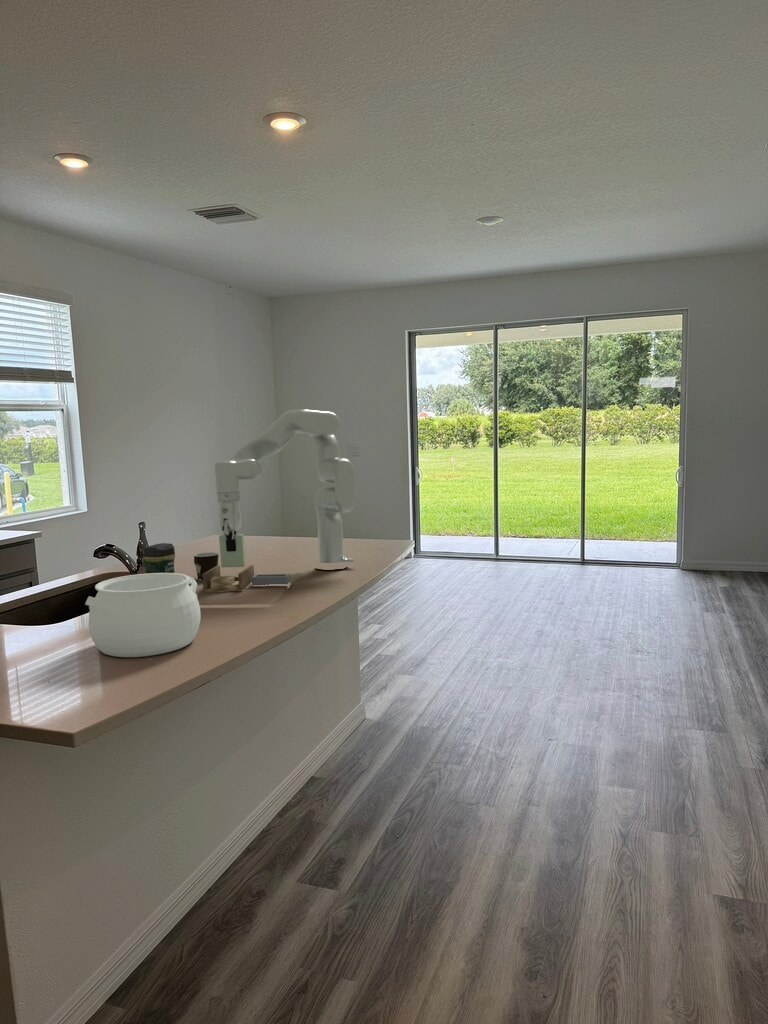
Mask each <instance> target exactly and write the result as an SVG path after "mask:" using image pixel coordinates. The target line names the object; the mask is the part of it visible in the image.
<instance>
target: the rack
mask: <svg viewBox="0 0 768 1024" xmlns="http://www.w3.org/2000/svg"><path fill="white" fill-rule="evenodd" d="M254 568H255V567H254V565H253V564H251V565H249V566H247V567H246V568H244V569H242V571H241V572H239V573H237V575H238V576H235V581H239V588H211V579H212V578H213V577H219V576H221V565H218V566H216V567H214V568H212V569H211V570H209V571H207V572H205V573H204V574H202V575H203V581H202V588H203V589H202V590H203V591H202V592H203V593H218V592H217V591H242V590H244V589H245V588H246V587H247V586H248V585H249V584H250V583H251V582H252V577H253V576H254V575H255V570H254ZM245 590H246V589H245ZM245 590H244V591H245Z"/></svg>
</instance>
